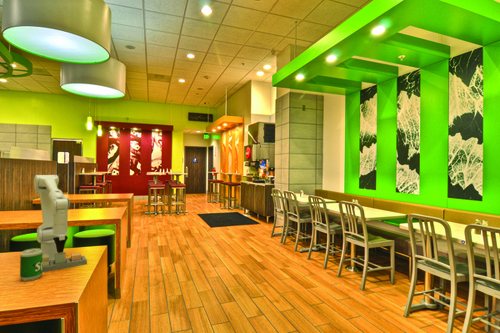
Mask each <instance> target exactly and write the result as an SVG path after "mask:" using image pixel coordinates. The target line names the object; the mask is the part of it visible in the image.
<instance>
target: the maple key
mask: <svg viewBox="0 0 500 333" xmlns="http://www.w3.org/2000/svg"><path fill="white" fill-rule="evenodd" d="M47 265H49V255H43V266H47Z"/></svg>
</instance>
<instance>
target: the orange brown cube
mask: <svg viewBox="0 0 500 333" xmlns="http://www.w3.org/2000/svg"><path fill="white" fill-rule="evenodd" d="M81 256H82V254H81V253H80V252H76V253H71V254H70V258H71V262H72V261H77V260H81Z"/></svg>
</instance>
